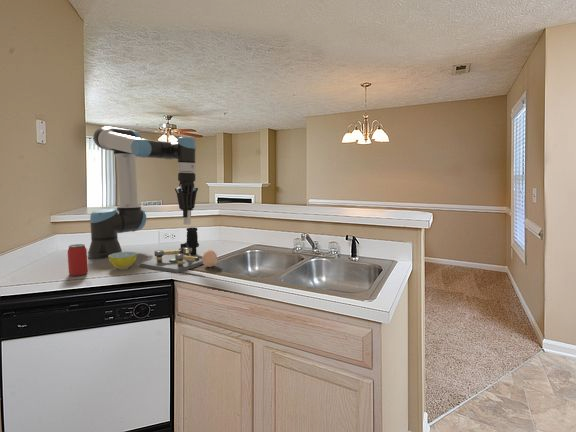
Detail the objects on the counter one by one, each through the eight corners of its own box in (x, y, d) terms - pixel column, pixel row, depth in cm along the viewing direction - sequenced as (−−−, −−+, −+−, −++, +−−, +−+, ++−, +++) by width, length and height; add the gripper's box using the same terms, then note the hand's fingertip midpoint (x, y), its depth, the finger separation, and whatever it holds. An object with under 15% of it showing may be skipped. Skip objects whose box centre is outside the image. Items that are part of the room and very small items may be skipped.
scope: (187, 226, 181) (203, 227, 177) (188, 251, 182) (203, 253, 178) (177, 228, 173) (193, 229, 169) (178, 254, 175) (193, 256, 171)
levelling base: (139, 266, 151) (139, 261, 151) (171, 257, 169) (171, 252, 169) (177, 272, 142) (177, 267, 142) (207, 262, 160) (207, 257, 160)
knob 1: (183, 257, 162) (183, 247, 162) (192, 256, 163) (192, 247, 163) (182, 263, 151) (182, 253, 150) (191, 262, 152) (191, 252, 151)
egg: (220, 267, 152) (219, 249, 151) (206, 269, 148) (206, 252, 147) (212, 264, 157) (212, 247, 156) (199, 266, 153) (199, 249, 152)
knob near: (154, 262, 151) (154, 252, 151) (154, 260, 155) (154, 250, 154) (183, 260, 155) (182, 250, 155) (182, 258, 159) (182, 248, 159)
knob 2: (173, 265, 147) (173, 255, 146) (179, 263, 150) (179, 253, 150) (196, 269, 142) (195, 258, 141) (202, 266, 145) (201, 256, 145)
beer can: (91, 272, 142) (89, 243, 140) (82, 276, 135) (80, 247, 134) (75, 271, 141) (73, 243, 140) (65, 276, 135) (63, 247, 133)
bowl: (106, 272, 141) (105, 258, 140) (112, 265, 152) (111, 252, 151) (135, 271, 144) (134, 256, 143) (139, 264, 155) (138, 251, 154)
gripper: (183, 172, 144) (183, 226, 147) (202, 172, 156) (202, 223, 158) (169, 172, 147) (170, 225, 150) (189, 172, 159) (190, 221, 161)
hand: (187, 224), depth 154 cm, fingers closed
